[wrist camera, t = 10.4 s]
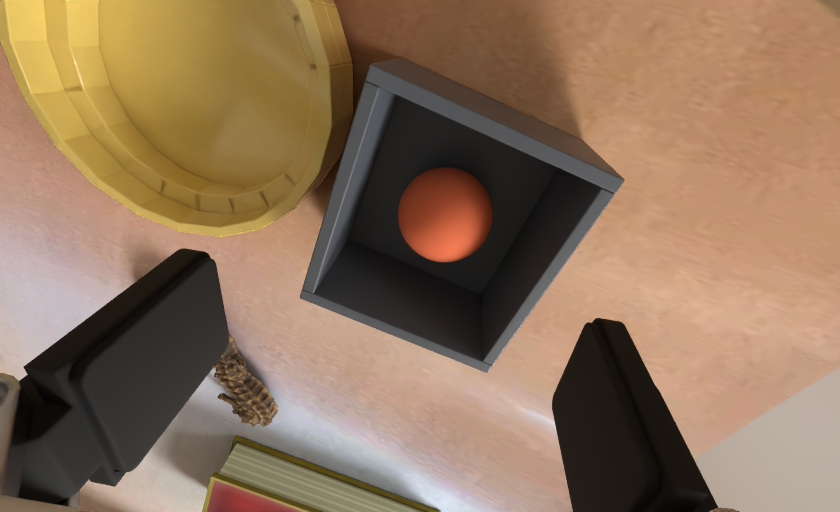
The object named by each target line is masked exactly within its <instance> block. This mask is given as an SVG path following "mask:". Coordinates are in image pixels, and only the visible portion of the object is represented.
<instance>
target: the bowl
mask: <svg viewBox="0 0 840 512" xmlns="http://www.w3.org/2000/svg"><path fill="white" fill-rule="evenodd" d="M0 43H1V45H2V48H3V50H4V53H5V55H6V58H7V60H8V62H9V65H10V67H11V70H12V72H13V75H14V77H15V80H16V82H17V85H18V87H19V90H20V92H21V94H22V97H23V98H24V100H25V101H26V103H27V104H28V106H29V107H30V109H31V110H32V112H33V113H34V115H35V116H36V118H37V119H38V121H39V122H40V124H41V125H42V127H43V128H44V130H45V131H46V133H47V134H48V136H49V137H50V139H51V140H52V142H53V143H54V144H55V146H56V147H57V148H58V149H59V150H60V151H61V152H62V153H63V154H64V155H65V156H66V157H67V158H68V159H69V160H70V161H71V162H72V163H73V164H74V165H75V166H76V167H77V169H78V170H79V171H80V172H81V173H82V174H83V175H84V176H85V177H86V178H87V179H88V180H89V181H90V182H91V183H92V184H93V185H95V186H96V187H97V188H99V189H100V190H102V191H103V192H105V193H106V194H108V195H109V196H110V197H112V198H113V199H115V200H116V201H118V202H119V203H121V204H122V205H124V206H125V207H127V208H128V209H129V210H131V211H132V212H134V213H135V214H137V215H139V216H142V217H144V218H147V219H149V220H152V221H154V222H157V223H159V224H162V225H164V226H167V227H169V228H172V229H174V230H177V231H180V232H186V233H194V234H202V235H210V236H218V237H224V236H230V235H235V234H240V233H245V232H250V231H256V230H260V229H263V228H264V227H266V226H268V225H269V224H271V223H272V222H274V221H276V220H277V219H279V218H280V217H282V216H284V215H285V214H287V213H288V212H290V211H292V210H293V209H294V208H295V207H297V206H298V205H299V204H300V203H301V202H302V201H303V200H304V199H305V198H306V197H307V196H309V195H310V194H311V193H312V192H313V191H314V190H315V189H316V188H317V187H318V186H319V185H320V184H321V182H322V181H323V180H324V178H325V177H326V176H327V174H328V173H329V171H330V170H331V169H332V167H333V166H334V165H335V163H336V162H337V161H338V159H339V158H340V156H341V154H342V151H343V147H344V144H345V141H346V137H347V134H348V131H349V127H350V124H351V121H352V117H353V64H352V63H351V62H352V59H351V55H350V52H349V48H348V45H347V42H346V38H345V35H344V31H343V28H342V24H341V21H340V18H339V14H338V11H337V8H336V5H335V3H334V1H333V0H0Z"/></svg>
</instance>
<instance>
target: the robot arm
mask: <svg viewBox="0 0 840 512" xmlns="http://www.w3.org/2000/svg"><path fill="white" fill-rule="evenodd" d="M228 344H229V332H228V327H227V321H226V316H225V310H224V305H223V299H222V294H221V289H220V283H219V278H218V272H217V267H216V263H215V261H214V260H213V259H211V258H210V256H209V254H208V253H206V252H202V251H197V250H191V249H185V248H184V249H180V250H178V251H176V252H175V253H174V254H172V255H171V256H170V257H168V258H167V259H166V260H164V261H163V262H162V263H160V264H159V265H158V266H156V267H155V268H154V269H152V270H151V271H150V272H148V273H147V274H146V275H144V276H143V277H142V278H141V279H139V280H138V281H137V282H135V283H134V284H133V285H131V286H130V287H129V288H127V289H126V290H125V291H123V292H122V293H121V294H119V295H118V296H117V297H115V298H114V299H113V300H111V301H110V302H109V303H107V304H106V305H105V306H103V307H102V308H101V309H100V310H98V311H97V312H96V313H94V314H93V315H92V316H90V317H89V318H88V319H86V320H85V321H84V322H82V323H81V324H80V325H78V326H77V327H76V328H74V329H73V330H72V331H70V332H69V333H68V334H66V335H65V336H64V337H62V338H61V339H60V340H58V341H57V342H56V343H55V344H53V345H52V346H51V347H49V348H48V349H47V350H45V351H44V352H43V353H41V354H40V355H39V356H37V357H36V358H35V359H33V360H32V361H31V362H29V363H28V364H27V365H25V366H24V369H25V370H26V372H27V374H28V375H27V376H25V377H24V378H23V379H21V380H20V381H18V380H17V379H16V378H15V377H14V376H11V375H7V374H4V373H0V512H96V511H91V510H85V509H79V491H80V489H81V488H82V487H83V485H84V484H85V483H86V482H87V481H88V480H90V481H91V482H95V483H100V484H105V485H110V486H116V485H117V483H118V482H119V481H120V480H121V478H122V477H123V476H124V474H125V473H126V472H130V471H132V470H134V469H135V468H136V467H137V466H138V465H139V464H140V462H141V461H142V460H143V458H144V457H145V456H146V454H147V453H148V452H149V450H150V449H151V448H152V447H153V445H154V444H155V443H156V441H157V440H158V439H159V437H160V436H161V435H162V434H163V432H164V431H165V430H166V428H167V427H168V426H169V424H170V423H171V422H172V420H173V419H174V418H175V417H176V415H177V414H178V413H179V411H180V410H181V409H182V407H183V406H184V405H185V403H186V402H187V401H188V400H189V398H190V397H191V396H192V394H193V393H194V392H195V390H196V389H197V388H198V387H199V385H200V384H201V383H202V381H203V380H204V379H205V377H206V376H207V375H208V373H209V372H210V371H211V370H212V368H213V367H214V366H215V364H216V363H217V362H218V360H219V359H220V358H221V356H222V355H223V354H224V353H225V351H226V349H227V347H228ZM552 410H553V415H554V420H555V425H556V430H557V435H558V440H559V445H560V449H561V454H562V459H563V464H564V469H565V474H566V479H567V484H568V489H569V494H570V499H571V504H572V509H573V512H739V511H736V510H733V509H728V508H718V506H717V504H716V502H715V500H714V498H713V496H712V494H711V492H710V490H709V488H708V486H707V484H706V483H705V480H704V479H703V477H702V475H701V473H700V471H699V469H698V467H697V465H696V463H695V461H694V459H693V457H692V455H691V453H690V451H689V449H688V447H687V445H686V443H685V441H684V439H683V437H682V435H681V433H680V431H679V429H678V427H677V425H676V423H675V421H674V419H673V417H672V415H671V413H670V411H669V409H668V407H667V405H666V403H665V401H664V399H663V397H662V395H661V393H660V392H659V390H658V389H657V387H656V386H655V385H654V383H653V381H652V379H651V377H650V375H649V373H648V371H647V369H646V367H645V365H644V363H643V361H642V359H641V357H640V355H639V353H638V351H637V349H636V347H635V345H634V343H633V341H632V339H631V337H630V335H629V333H628V331H627V329H626V327H625V325H624V324H623V323H622V322H619V321H613V320H607V319H601V318H596V319H595V320H594V321H593V322H592V323H586V324H585V326H584V328H583V330H582V332H581V334H580V337H579V339H578V341H577V343H576V346H575V348H574V350H573V352H572V355H571V357H570V359H569V361H568V364H567V366H566V368H565V370H564V373H563V375H562V377H561V379H560V382H559V384H558V386H557V388H556V391H555V393H554V396H553V400H552Z"/></svg>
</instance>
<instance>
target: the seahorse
mask: <svg viewBox="0 0 840 512" xmlns="http://www.w3.org/2000/svg"><path fill="white" fill-rule="evenodd" d="M233 342H234V341H233V337H231V336H230V334H229V344H228V347H227V349H226V351H225V353H224V354H223V355H222V356H221V358H220V359H219V360H218V362H217V363H216V364H215V366H214V367H213V368H216V373H215V377H216V376H217V378H218V379H219V384H223V385H225V389H227V390H229V391H230V393H231V395H233V396H234V397H235V398H236V399H234V398H232V397H230V396H228V395H226V394H224V393H222V394H220V395H219V396H218V398H219V399H222V400H224V401H226V402H228V403H229V404H231V405H232V406H233V409H234V411H233V410H232V411H233V413H234V414H238V415H239V417H240V418H241V419H242V420H241V423H250V424H251V425H252V426H253V427H254V426H255V425H256V424H261V425H262V426H263V427H264V426H266V425H269V424H270V422H271V421H272V418H273V417H274V416H275V415H276V414H277V411H278V409H277V408H278V406H277V405H276V403H275V401H274V399H275V398H273V397H272V396H271V394H270V393H269V392H268V390H267V388H266V387H265V386H264V385H263V384H262V383H261V382H260V381H259V380H257V379H256V378H255V377H253V376H252V375H251V374H250V372H249V371H248V370H247V368H246V361H243V359H242V357H240V355H239V354H240V353H239V352H238V351H237V348H236V347H235V344H234V343H233Z"/></svg>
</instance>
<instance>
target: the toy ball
mask: <svg viewBox="0 0 840 512" xmlns="http://www.w3.org/2000/svg"><path fill="white" fill-rule="evenodd" d="M492 219H493V210H492V204H491V200H490V197H489V195H488V192H487V191H486V189H485V187H484V186H483V185H482V184H481V182H480V181H479V180H478V179H476V178H475V177H474V176H473V175H471V174H470V173H468V172H466V171H464V170H461V169H457V168H453V167H439V168H434V169H430V170H428V171H426V172H423V173H422V174H420V175H419V176H417V177H416V178H415V179H414V180H412V182H411V183H410V184H409V185H408V186H407V188H406V189H405V191H404V193H403V195H402V197H401V200H400V203H399V208H398V222H399V227H400V230H401V233H402V235H403V237H404V239H405V241H406V242H407V243H408V245H409V246H410V247H411V248H412V249H413V250H414V251H415V252H417V253H418V254H419V255H421V256H423V257H425V258H427V259H430V260H433V261H437V262H453V261H457V260H460V259H463V258H465V257H467V256H469V255H471V254H472V253H474V252H475V251H476V250H477V249H478V248H479V247H480V246H481V245H482V244H483V243H484V241H485V240H486V238H487V236H488V234H489V231H490V229H491V225H492Z"/></svg>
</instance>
